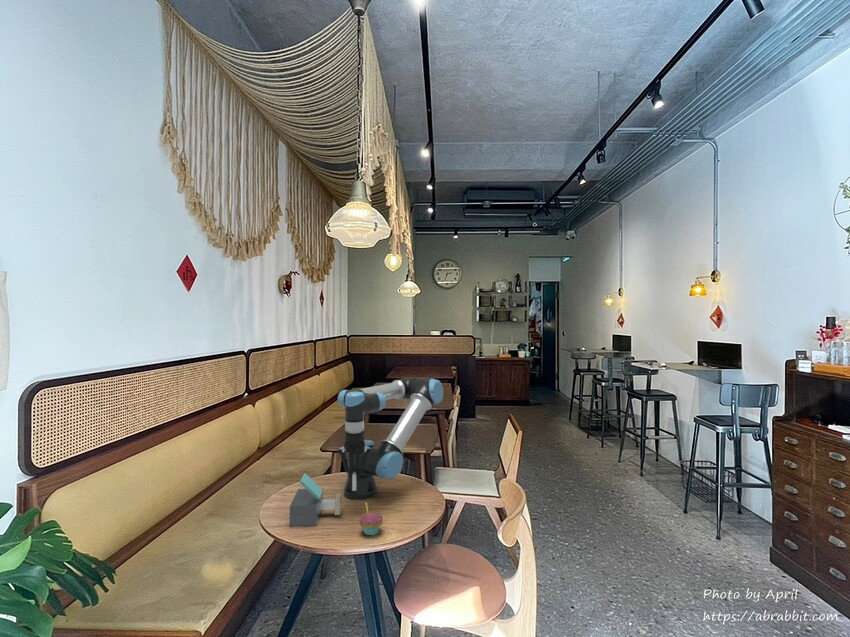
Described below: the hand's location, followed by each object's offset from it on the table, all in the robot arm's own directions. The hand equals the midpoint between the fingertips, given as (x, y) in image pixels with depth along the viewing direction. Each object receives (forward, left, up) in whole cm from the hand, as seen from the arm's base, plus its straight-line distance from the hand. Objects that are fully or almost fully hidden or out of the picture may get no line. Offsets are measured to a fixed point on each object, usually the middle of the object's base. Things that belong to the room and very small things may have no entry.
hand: (354, 489), depth 172 cm
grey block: (+19, 0, -10) cm, 21 cm away
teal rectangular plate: (+17, 0, +1) cm, 17 cm away
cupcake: (-7, +15, -11) cm, 20 cm away
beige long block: (+13, 0, -9) cm, 16 cm away
